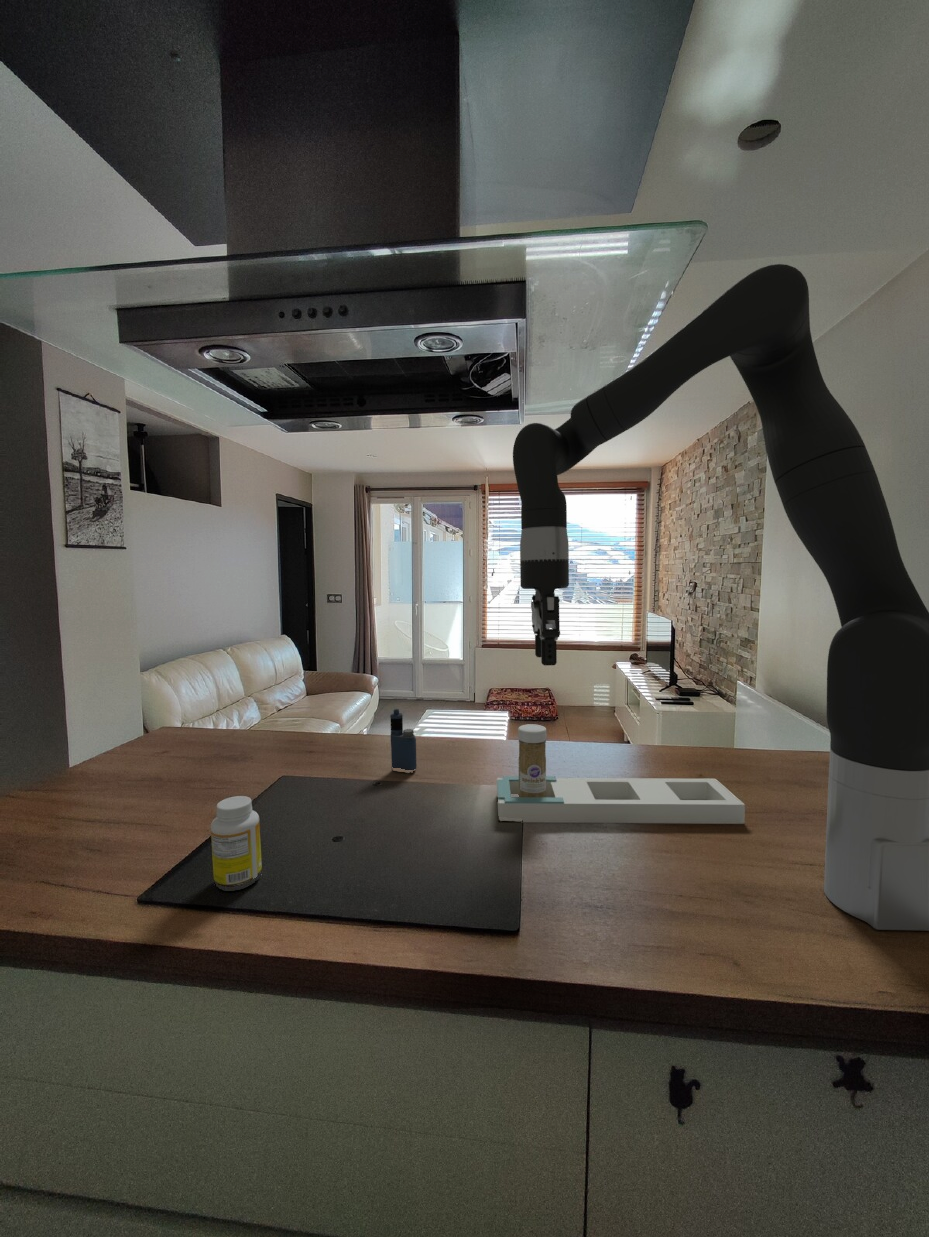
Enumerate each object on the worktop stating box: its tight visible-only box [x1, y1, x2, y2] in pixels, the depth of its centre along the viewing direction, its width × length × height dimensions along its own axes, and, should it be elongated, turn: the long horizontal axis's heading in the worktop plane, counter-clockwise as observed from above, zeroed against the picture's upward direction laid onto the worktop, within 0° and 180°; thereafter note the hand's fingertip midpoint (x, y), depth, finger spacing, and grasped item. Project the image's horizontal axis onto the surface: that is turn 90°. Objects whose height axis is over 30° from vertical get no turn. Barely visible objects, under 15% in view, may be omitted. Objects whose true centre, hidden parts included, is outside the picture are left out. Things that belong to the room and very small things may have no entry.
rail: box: [496, 775, 746, 825], centre depth 83 cm, size 10×37×3 cm, turn 88°
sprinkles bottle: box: [517, 723, 548, 797], centre depth 83 cm, size 5×5×13 cm
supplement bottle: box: [210, 795, 263, 887], centre depth 64 cm, size 6×6×10 cm
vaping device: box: [389, 708, 418, 770], centre depth 100 cm, size 3×5×12 cm, turn 67°
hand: (545, 660), depth 82 cm, fingers open, 8 cm apart
